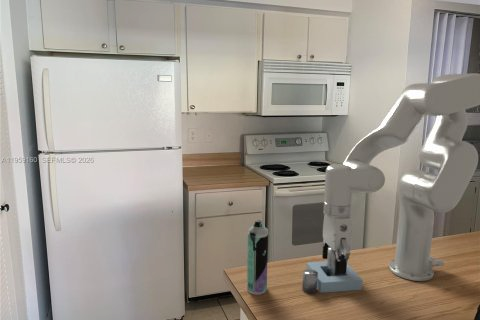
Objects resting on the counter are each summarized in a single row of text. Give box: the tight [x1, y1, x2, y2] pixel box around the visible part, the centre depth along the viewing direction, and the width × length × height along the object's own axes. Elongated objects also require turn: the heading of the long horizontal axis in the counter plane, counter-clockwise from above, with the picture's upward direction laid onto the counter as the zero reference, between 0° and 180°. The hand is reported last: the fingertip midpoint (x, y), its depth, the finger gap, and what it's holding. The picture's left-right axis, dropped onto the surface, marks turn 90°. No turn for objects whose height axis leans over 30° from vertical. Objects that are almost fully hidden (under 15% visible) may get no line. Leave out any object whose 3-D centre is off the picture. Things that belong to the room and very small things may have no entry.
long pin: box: [326, 246, 343, 277], centre depth 106 cm, size 4×4×10 cm
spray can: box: [246, 220, 269, 296], centre depth 100 cm, size 6×6×20 cm
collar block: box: [306, 260, 363, 294], centre depth 107 cm, size 12×12×3 cm
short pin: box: [301, 268, 318, 294], centre depth 102 cm, size 4×4×5 cm
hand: (333, 265), depth 106 cm, fingers open, 8 cm apart
